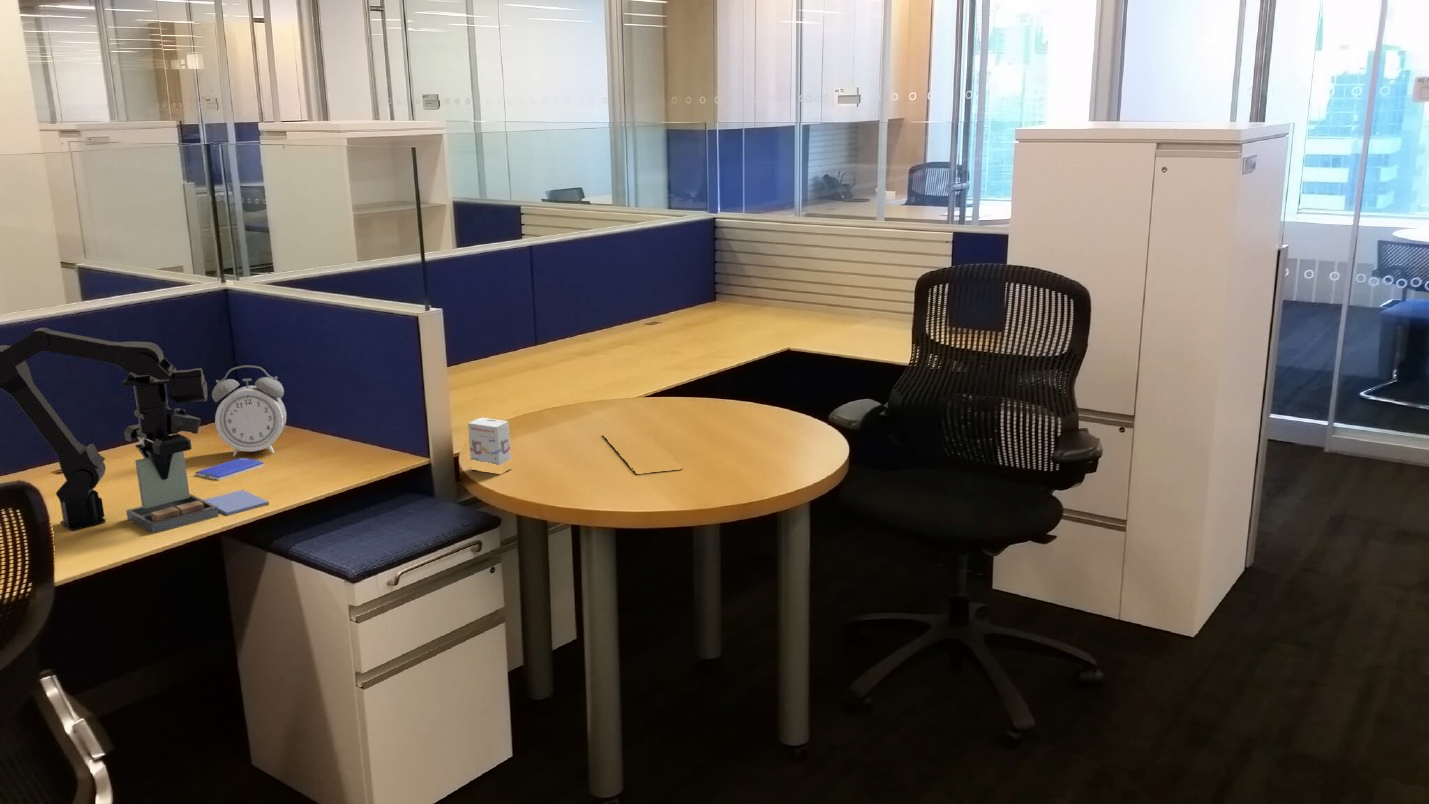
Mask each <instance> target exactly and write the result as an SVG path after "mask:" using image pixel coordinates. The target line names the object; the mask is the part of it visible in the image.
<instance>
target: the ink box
mask: <svg viewBox="0 0 1429 804" xmlns="http://www.w3.org/2000/svg"><path fill="white" fill-rule="evenodd" d="M509 426H510V425H509V421H507V420H502V419H501V420H500V419H496V418H495V419H494V418H489V417H488V418H487V417H479V418H477V419H474V420H471V421H469V422H468V423H467V429H468V442H469V453H470V454H469V456H470V461H471V460H476V461H480V462H488V463H492V464H496V465H500V464H502V463H503V462H506V461H507V460H510V459H511V460H512V457H511V456H512V455H511V439H510V437H511V436H510V427H509Z"/></svg>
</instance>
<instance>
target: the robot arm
mask: <svg viewBox="0 0 1429 804" xmlns="http://www.w3.org/2000/svg"><path fill="white" fill-rule="evenodd" d="M43 351H44V352H50V353H56V354H61V355H65V356H66V355H67V356H71V357H72V356H73V357H78V358H83V359H88V360H94V361H97V362H98V361H99V362H105V363H108V364H111V365H113V366H116V367H118V369H122V370H124V371H127V372H129V373H128V376H127V378H126V379H125V380H124V381H123V382H122V383H121V386H122V387H124V388H125V387H133V391H134V392H133V393H134V397H135V403H136V410H133V414H134V416H135V417H137V418H138V424H133V425H129V426H127V427H126V428H125V429H124V431H123V434H124V440H125V441H127V442H129V443H132V442H134V440H135V439H136V438H137V439H138V444H136V445H135V448H136V449H137V450H138V451H139V453H140V454H141V455H142V457H143V459H144V458H148V457H149V458H150V459H151V461H152V463H153V465H154V467H155V469H156V470H157V472H158V474H159V476H160V477H161V479H162V480H165V479H167V478H168V474H169V469H170V464H171V459H172V456H173V454H174V453H178V452H187V451H190V450H192V441H191V439H189V438H188V437H187V436H184V435H183V434H180V433H179V431H180V432H186V433H191V434H194V435H195V434H199V428H200V425H201V421H202V420H201V419H202V418H199V417H196V416H193V415H189V414H187V412H186V411H187V410H185V409H183V408H176V407H174V409H173V408H170V406H169V401H168V397H169V400H172V401H173V402H175V404H187V403H199V402H207V401H208V383H207V381H206V379H205V374H204V373H203V368H201V367H199V368H198V367H196V368H192V369H183V370H182V369H181V370H177V368H176V367H175V366H174V365H173V364H172V363H171V362H169V361H168V360H167V358H165V357H164V352H163V350H162V349H161V347H160V346H159V345H158V344H156V343H154V342H149V341H123V342H122V341H111V340H106V339H101V338H94V337H89V336H83V335H80V334H74V333H69V332H63V331H58V330H52V329H50V328H48V327H39V328H37V329H34V331H32V332H31V333H30V334H29V335H27V336H25V337H24V338H22V339H20V340H19V341H17V342H15V343H13V344H11V345H7V344H6V345H2V344H1V345H0V390H2V391H4V392H5V393H6V394H8V395H10V396H11V397H12V399H13V401H15V402H16V404H17V405H18V406H19V407H20V408H19V409H21V410H22V411H23V413H24V414H25V415H26V417H27V418H28V419H29V421H30V422H31V423H32V424H33V426H34V427H35V428H36V430H37V431H38V433H39V434H40V435H41V436H42V437H43V438H44V440H45V441H46V443H47V444H48V445H49V447H50V448H51V449H52V450H53V452H54V453H55V454H56V457H57V460H58V464H59V466H60V469H61V470H60V471H61V472H62V474H63V476H64V478H65V481H64V483H63V484H62V485H61V486H60V487H59V488H58V490H57V491H56V492H55V495H56V497H57V499H59V502H60V510H61V515H62V520H60V524H61V525H62V526H64V527H66V528H67V529H68V530H70V531H76V530H79V529H83V528H87V527H92V526H95V525H99V524H104V523H106V519H105V518H104V517H105V511H104V510H105V509H104V504H103V499H102V498H101V497H100V496H99V492H98V491H97V490H94V489H95V488H96V487H97V485H98V484H99V482H100V481H101V479H102V478H103V477H104V476H105V472H106V464H105V462H104V461H105V460H106V458H105V457H104V456H102V455H101V454H100V453H99V452H98V450H97V448H96V446H95V444H94V443H90V444H89V445H88V446H85V444H83V443H81V442H80V441H79V440H77V438H76V437H75V436H74V435H73V433H72V432H71V431H70V429H69V428H68V427H67V426H66V424H65V423H64V422H63V420H62V419H61V418H60V416H59V415H58V413H56V411H55V409H53V407H52V405H51V404H50V403H49V402H48V400H47V399H46V398H45V396H44V395H43V394H42V392H41V391H40V390H39V388H38V387H37V386H36V384H35V383H34V381H33V378H32V375H31V370H30V368H29V366H28V363H27V360H29V359H30V358H32V357H33V356H35V355H37V354H38V353H40V352H43ZM166 384H167V387H166ZM167 391H168V393H167Z"/></svg>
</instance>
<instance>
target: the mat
mask: <svg viewBox="0 0 1429 804" xmlns="http://www.w3.org/2000/svg"><path fill="white" fill-rule="evenodd" d="M203 500H204V501H206V502H208V503H210V504H212V505H214V506H216V507H218V512H220V513H222V514H223V515H225V516H230V515H234V514H237V513H242V512H245V511H249V510H253V509H256V508H260V507H265V506H268V505H269V503H270V502H269V501H268V500H266V499H264V498H262V497H259V496H257V495H255V494H254V493H250V492H248V491H246V490H243V489H241V490H236V491H234V492H229V493H228V492H227V493H225V494H221V495H217V496H214V497H213V496H212V497H210V498H205V499H203Z"/></svg>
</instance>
